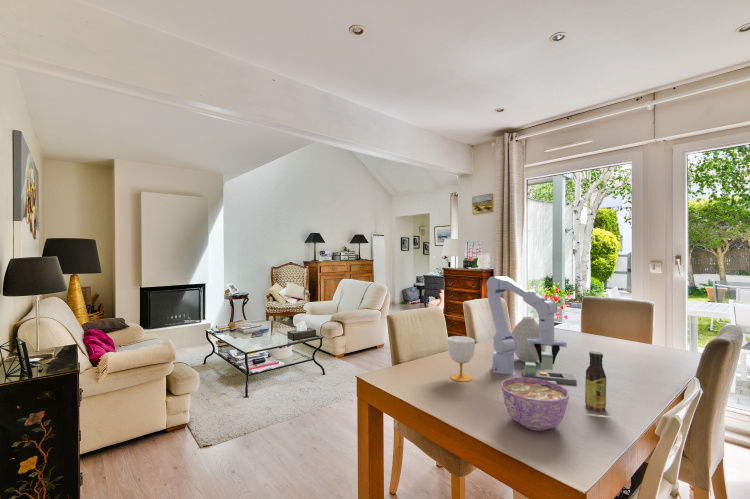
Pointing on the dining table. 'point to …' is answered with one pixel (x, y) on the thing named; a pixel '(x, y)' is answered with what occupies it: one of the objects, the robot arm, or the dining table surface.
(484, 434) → the dining table surface
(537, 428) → the bowl of food
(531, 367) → the gray fixture base
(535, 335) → the vase
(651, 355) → the dining table surface
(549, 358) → the plug
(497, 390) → the dining table surface
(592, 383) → the sauce bottle
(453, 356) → the cup
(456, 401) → the dining table surface
